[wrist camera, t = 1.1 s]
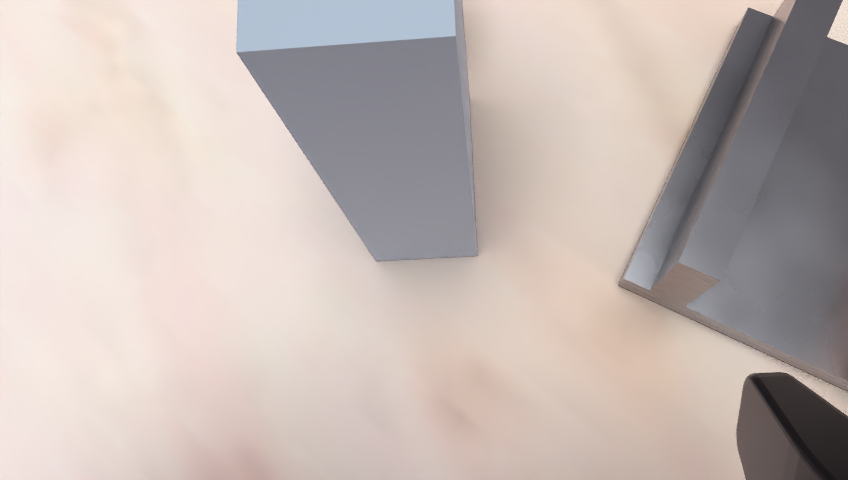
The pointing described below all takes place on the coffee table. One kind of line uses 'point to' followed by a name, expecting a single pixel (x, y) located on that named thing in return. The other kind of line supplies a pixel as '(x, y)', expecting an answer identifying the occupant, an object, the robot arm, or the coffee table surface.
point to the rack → (762, 197)
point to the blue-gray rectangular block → (375, 112)
